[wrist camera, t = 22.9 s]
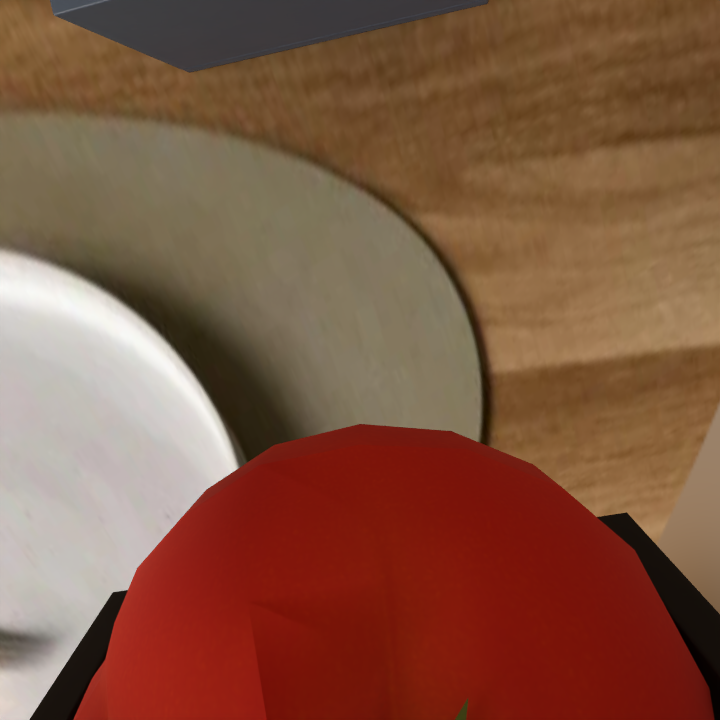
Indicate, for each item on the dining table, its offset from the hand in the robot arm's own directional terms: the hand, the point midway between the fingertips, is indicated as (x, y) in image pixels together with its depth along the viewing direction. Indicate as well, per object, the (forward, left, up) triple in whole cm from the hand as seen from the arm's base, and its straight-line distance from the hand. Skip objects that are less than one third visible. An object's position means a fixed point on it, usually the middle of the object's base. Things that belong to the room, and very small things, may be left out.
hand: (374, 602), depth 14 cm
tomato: (0, 0, 0) cm, 0 cm away
